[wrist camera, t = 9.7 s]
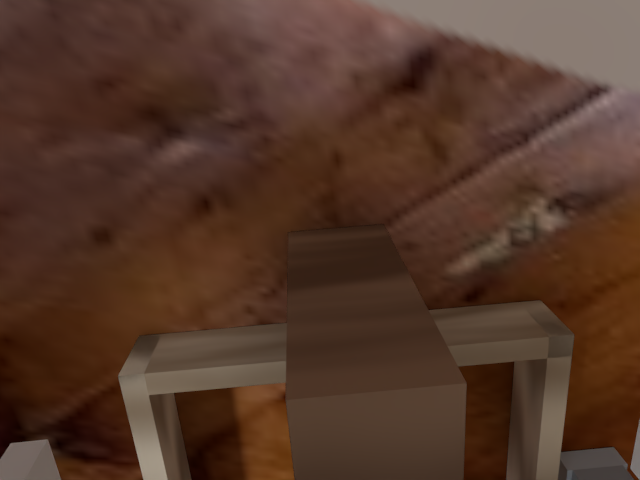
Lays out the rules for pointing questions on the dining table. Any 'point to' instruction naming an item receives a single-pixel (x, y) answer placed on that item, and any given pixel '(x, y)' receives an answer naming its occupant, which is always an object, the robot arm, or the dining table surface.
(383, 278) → the open square frame
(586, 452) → the grey l-shaped block
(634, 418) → the dining table surface
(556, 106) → the dining table surface
